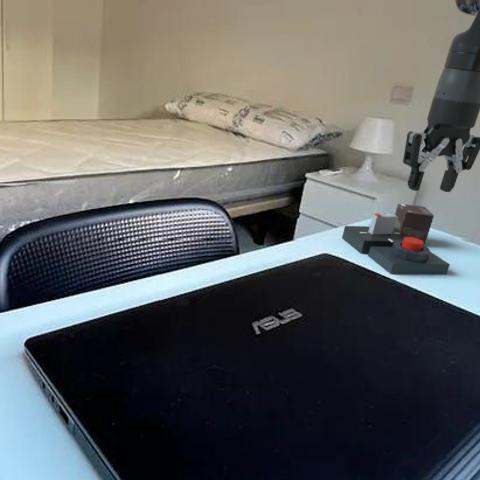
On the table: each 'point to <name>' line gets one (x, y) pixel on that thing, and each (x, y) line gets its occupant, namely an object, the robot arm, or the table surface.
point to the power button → (412, 244)
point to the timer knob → (382, 224)
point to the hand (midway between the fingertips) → (429, 189)
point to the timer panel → (369, 238)
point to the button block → (407, 260)
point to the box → (414, 221)
